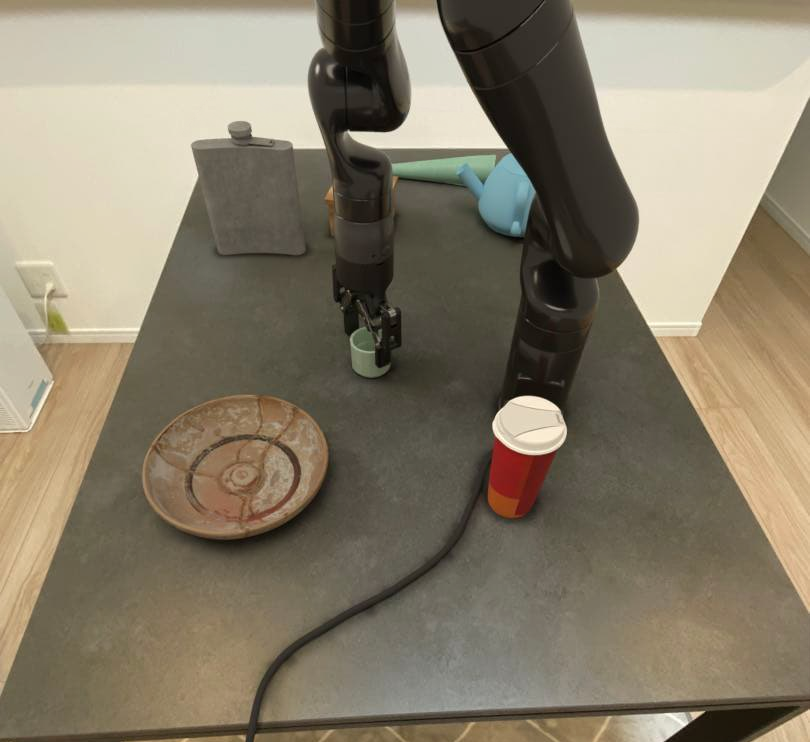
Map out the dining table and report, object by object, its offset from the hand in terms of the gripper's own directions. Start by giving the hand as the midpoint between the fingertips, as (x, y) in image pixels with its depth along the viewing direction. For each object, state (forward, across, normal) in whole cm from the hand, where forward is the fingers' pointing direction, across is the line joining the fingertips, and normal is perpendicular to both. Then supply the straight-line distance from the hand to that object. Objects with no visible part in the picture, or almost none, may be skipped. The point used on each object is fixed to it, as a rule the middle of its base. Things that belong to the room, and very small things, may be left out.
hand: (367, 348), depth 89 cm
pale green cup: (+4, 0, +1) cm, 4 cm away
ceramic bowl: (+4, +10, -26) cm, 28 cm away
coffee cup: (+4, +32, +2) cm, 32 cm away
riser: (+4, -34, +21) cm, 40 cm away
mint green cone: (+4, -42, +41) cm, 59 cm away
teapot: (+4, -21, +45) cm, 49 cm away
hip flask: (+4, -38, +1) cm, 38 cm away
